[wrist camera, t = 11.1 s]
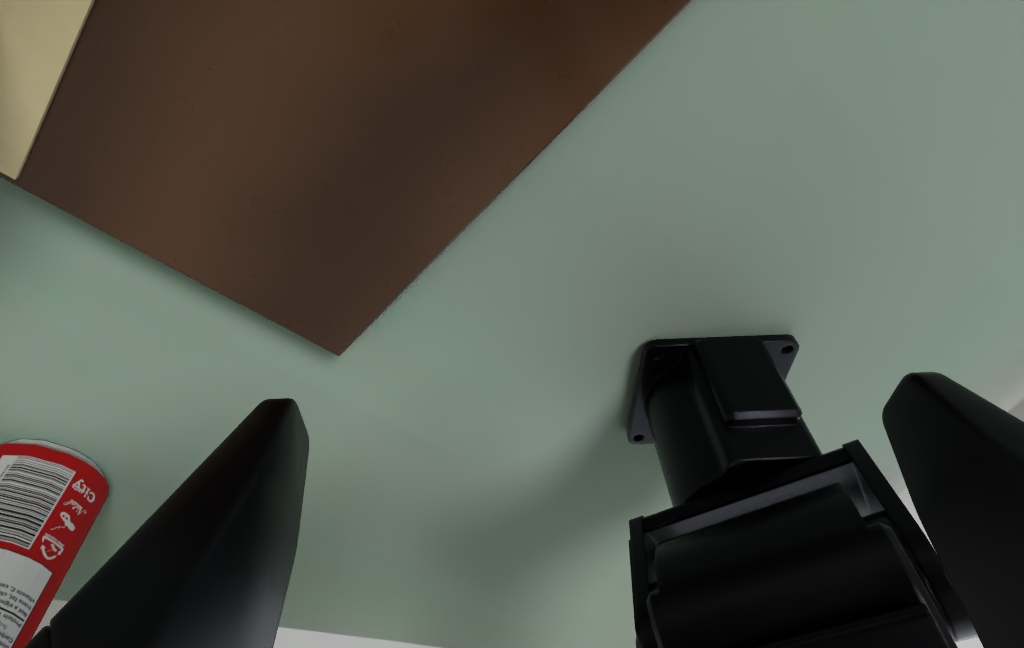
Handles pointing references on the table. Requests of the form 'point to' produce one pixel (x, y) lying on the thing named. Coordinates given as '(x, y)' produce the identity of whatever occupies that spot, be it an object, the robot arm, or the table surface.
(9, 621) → the soda can
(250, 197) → the board
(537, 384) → the table surface
